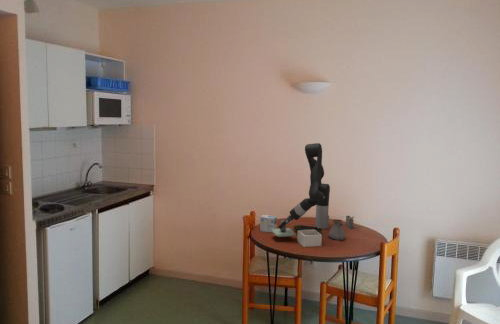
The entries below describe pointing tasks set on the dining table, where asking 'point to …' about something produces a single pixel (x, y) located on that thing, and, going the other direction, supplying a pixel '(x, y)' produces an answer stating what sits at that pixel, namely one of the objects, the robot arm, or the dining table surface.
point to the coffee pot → (337, 230)
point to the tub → (309, 238)
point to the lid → (283, 231)
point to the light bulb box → (268, 223)
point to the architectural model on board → (349, 222)
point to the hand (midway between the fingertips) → (280, 227)
